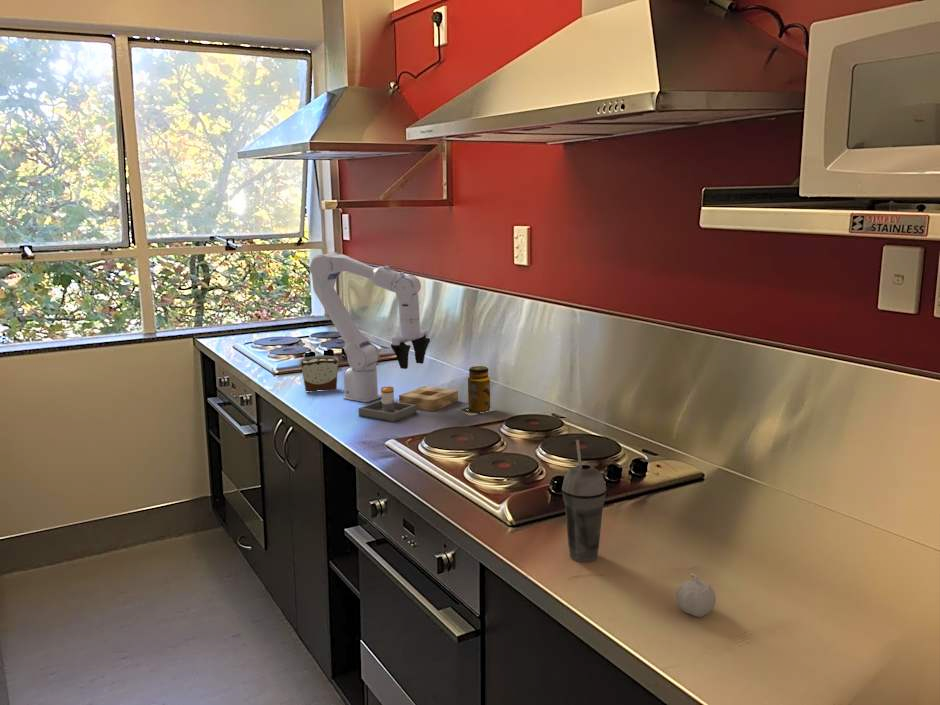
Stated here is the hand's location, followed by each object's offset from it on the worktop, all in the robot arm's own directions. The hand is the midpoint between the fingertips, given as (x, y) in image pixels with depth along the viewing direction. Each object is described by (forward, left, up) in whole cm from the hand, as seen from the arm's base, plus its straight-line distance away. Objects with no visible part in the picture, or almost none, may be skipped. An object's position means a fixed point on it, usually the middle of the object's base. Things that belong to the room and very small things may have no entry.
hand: (412, 365), depth 230 cm
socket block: (+6, 0, -10) cm, 12 cm away
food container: (-34, -2, -11) cm, 36 cm away
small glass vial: (+3, -15, -10) cm, 18 cm away
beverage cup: (+85, -67, -11) cm, 109 cm away
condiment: (+22, 0, -11) cm, 24 cm away
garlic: (+106, -75, -11) cm, 130 cm away
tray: (+3, -15, -10) cm, 19 cm away
